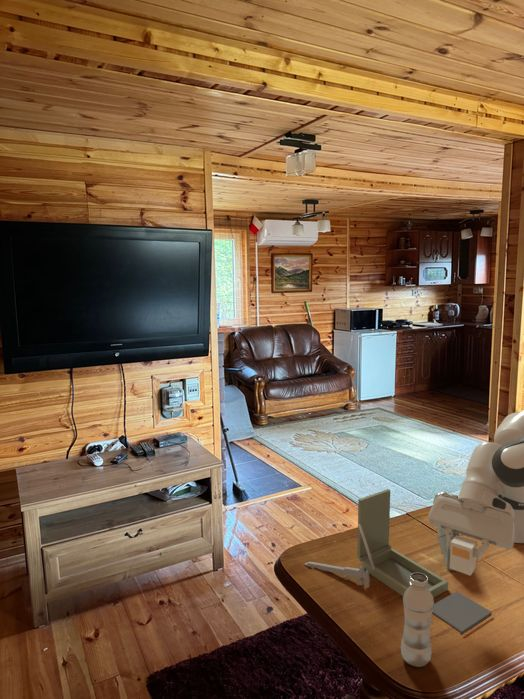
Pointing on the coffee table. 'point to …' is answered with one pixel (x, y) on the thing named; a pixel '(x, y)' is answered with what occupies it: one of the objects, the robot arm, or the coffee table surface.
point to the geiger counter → (444, 549)
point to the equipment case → (387, 548)
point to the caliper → (344, 572)
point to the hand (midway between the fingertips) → (462, 552)
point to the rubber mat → (460, 612)
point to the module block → (462, 555)
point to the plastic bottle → (417, 621)
